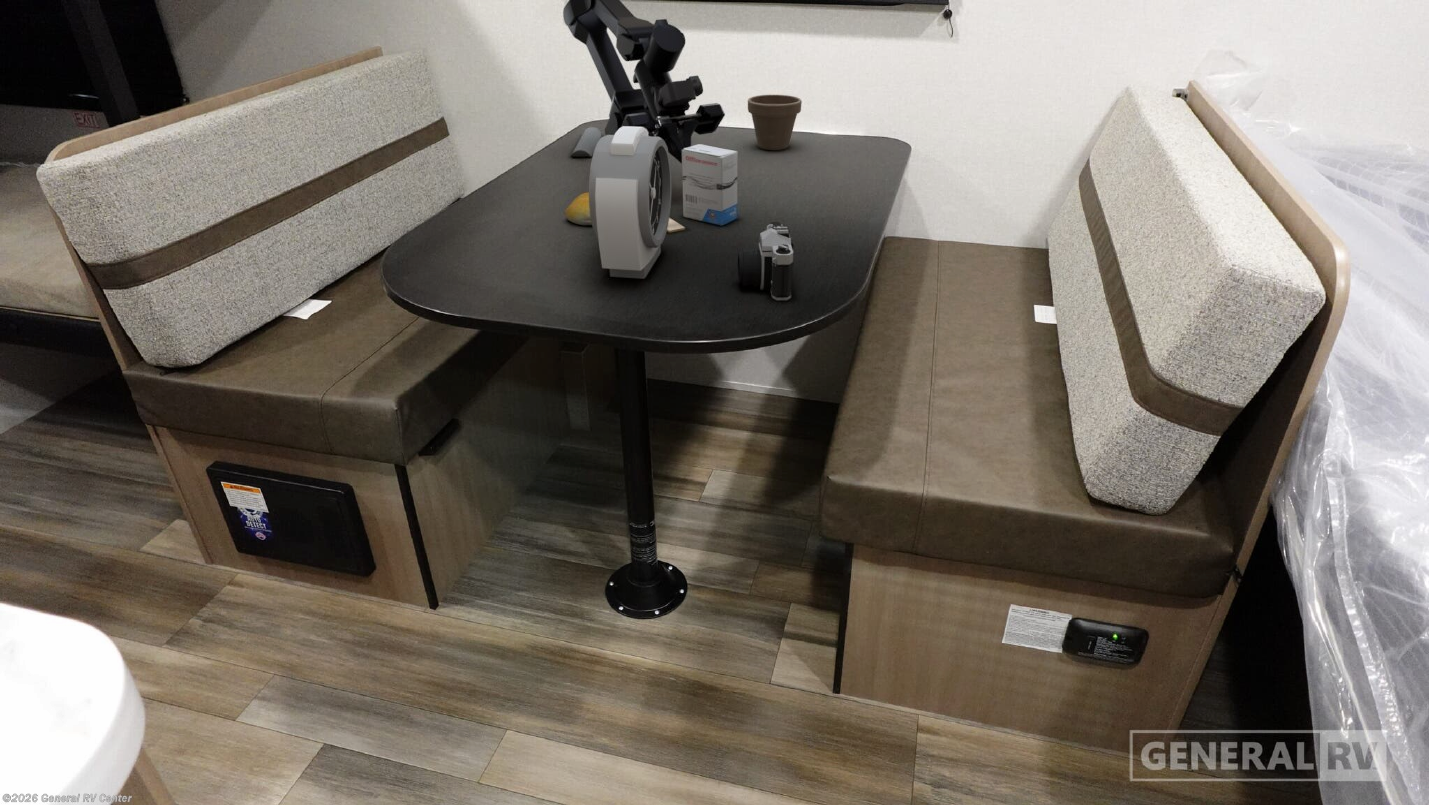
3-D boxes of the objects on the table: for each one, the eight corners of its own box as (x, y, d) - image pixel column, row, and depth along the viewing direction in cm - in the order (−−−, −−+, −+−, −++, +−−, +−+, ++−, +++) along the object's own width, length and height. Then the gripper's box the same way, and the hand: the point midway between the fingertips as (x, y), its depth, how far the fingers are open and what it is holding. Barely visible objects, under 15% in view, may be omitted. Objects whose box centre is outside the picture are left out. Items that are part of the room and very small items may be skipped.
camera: (733, 266, 133) (732, 210, 128) (784, 264, 133) (786, 208, 128) (742, 309, 122) (743, 249, 117) (798, 306, 123) (800, 246, 118)
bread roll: (561, 225, 149) (558, 202, 147) (577, 208, 157) (575, 186, 154) (608, 228, 148) (606, 205, 146) (622, 211, 155) (621, 188, 153)
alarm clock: (648, 289, 126) (642, 147, 115) (591, 285, 127) (579, 144, 117) (675, 244, 141) (671, 115, 130) (624, 241, 142) (616, 113, 132)
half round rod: (570, 158, 184) (569, 149, 183) (583, 134, 201) (582, 126, 200) (590, 158, 184) (590, 149, 183) (602, 134, 201) (601, 126, 200)
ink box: (738, 218, 151) (739, 149, 145) (721, 226, 148) (721, 156, 142) (699, 209, 156) (698, 142, 150) (682, 217, 152) (680, 148, 146)
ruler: (628, 206, 158) (628, 203, 157) (643, 203, 159) (643, 201, 159) (669, 232, 146) (669, 230, 145) (685, 229, 147) (685, 227, 147)
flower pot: (765, 137, 198) (766, 90, 193) (809, 144, 193) (811, 97, 187) (736, 148, 190) (736, 100, 185) (781, 156, 185) (782, 107, 179)
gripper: (621, 65, 145) (653, 147, 143) (719, 54, 153) (751, 132, 150) (605, 105, 155) (635, 183, 153) (698, 93, 163) (728, 167, 160)
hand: (688, 165), depth 154 cm, fingers closed
